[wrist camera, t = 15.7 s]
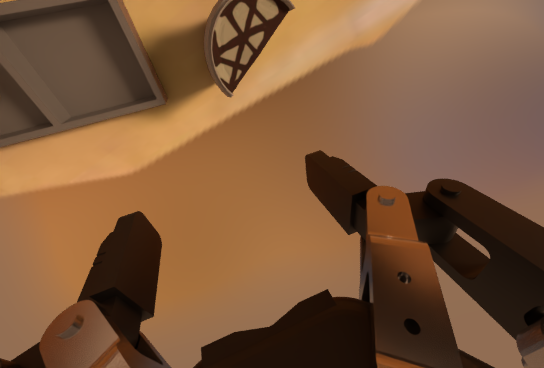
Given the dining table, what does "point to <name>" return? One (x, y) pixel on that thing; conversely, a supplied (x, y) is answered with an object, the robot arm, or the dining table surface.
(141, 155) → the dining table surface
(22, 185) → the dining table surface
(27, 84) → the organiser tray
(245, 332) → the robot arm
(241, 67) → the food container
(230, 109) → the dining table surface
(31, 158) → the dining table surface
